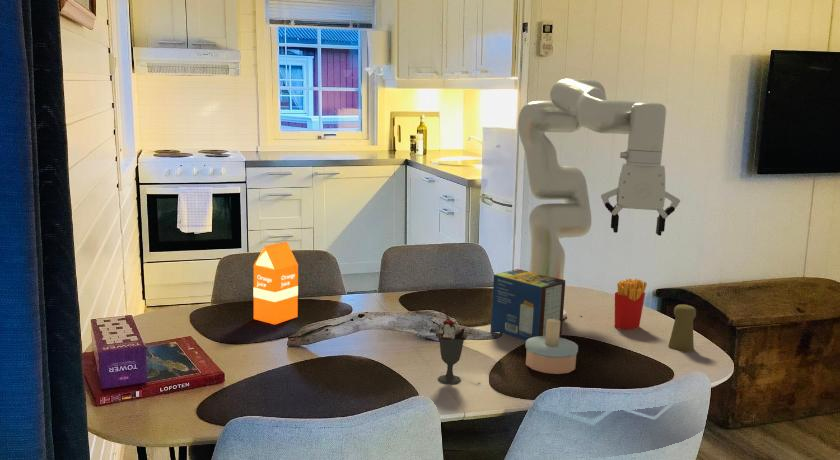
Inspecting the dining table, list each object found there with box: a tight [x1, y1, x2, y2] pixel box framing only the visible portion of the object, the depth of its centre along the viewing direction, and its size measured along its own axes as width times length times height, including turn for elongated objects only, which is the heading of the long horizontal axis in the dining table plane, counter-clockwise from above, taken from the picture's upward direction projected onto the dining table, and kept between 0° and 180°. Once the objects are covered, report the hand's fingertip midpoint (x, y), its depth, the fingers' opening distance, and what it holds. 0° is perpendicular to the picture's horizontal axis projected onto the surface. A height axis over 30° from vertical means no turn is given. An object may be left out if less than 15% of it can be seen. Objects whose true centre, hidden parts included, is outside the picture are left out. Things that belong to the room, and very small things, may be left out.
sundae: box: [435, 310, 468, 385], centre depth 152 cm, size 7×7×15 cm
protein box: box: [490, 268, 566, 341], centre depth 183 cm, size 10×15×16 cm
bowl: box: [525, 349, 577, 375], centre depth 162 cm, size 11×11×4 cm
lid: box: [524, 319, 579, 358], centre depth 161 cm, size 12×12×6 cm
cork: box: [668, 304, 697, 353], centre depth 179 cm, size 6×6×11 cm
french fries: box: [614, 278, 647, 331], centre depth 194 cm, size 9×4×13 cm, turn 115°
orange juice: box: [252, 241, 299, 325], centre depth 189 cm, size 8×9×20 cm
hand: (636, 233), depth 165 cm, fingers open, 9 cm apart
